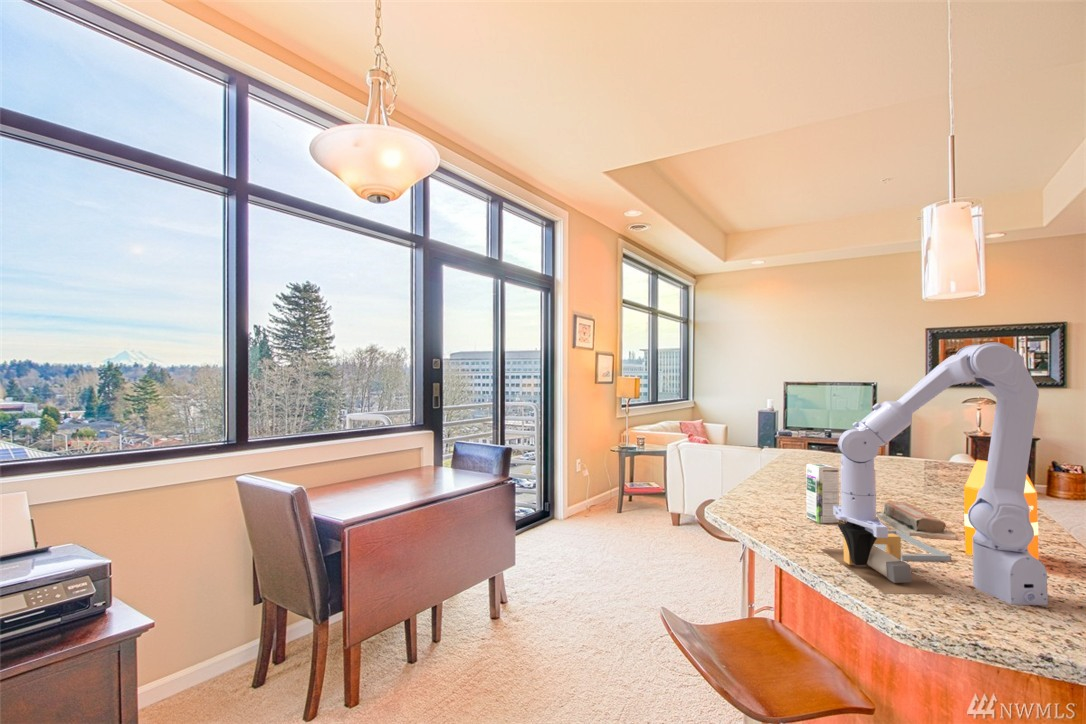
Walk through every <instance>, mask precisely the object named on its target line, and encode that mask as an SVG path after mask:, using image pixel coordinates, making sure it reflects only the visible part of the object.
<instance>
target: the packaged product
mask: <svg viewBox="0 0 1086 724" xmlns="http://www.w3.org/2000/svg"><path fill="white" fill-rule="evenodd" d="M876 517H877V518H878V519H881V520H882V521H884V522H885V523H886V524H888V525H889V526H891V527H893V528H894V529H895V530H898V531H900V532H902V533H904V534H906V535H908V536H910V537H919V538H922V539H936V540H937V539H940V540H955V541H956V540H957V535H955V534H953V533H951V532H949V531H947V530H945V529H946V527H947V524H946V523H945V522H944V521H943V520H941V519H939V518H938V517H935V516H933V515H932V514H931V513H928V512H926V511H925V510H922V509H921V508H919V507H916V506H915V505H913V504H911V503H908V502H895V501H893V502H892V501H891V502H889V501H887V502H885V503H884V508H883V512H880V511H879V512H876Z"/></svg>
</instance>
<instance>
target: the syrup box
mask: <svg viewBox="0 0 1086 724" xmlns="http://www.w3.org/2000/svg"><path fill="white" fill-rule="evenodd" d="M805 467H806V470H805V474H806V475H805V476H806V478H805V479H806V480H805V481H806V485H805V487H806V494H805V495H806V496H805V497H806V504H805V506H806V516H805V517H806V518H807V519H810V520H812V521H813V522H815V523H818V524H836V523H837V524H838V523H839V524H840V520H839V519H837V518H835V515H833V506H840V498H839V497H840V496H839V494H840V493H839V492H840V491H839V490H840V484H839V483H840V482H839V481H840V480H839V478H840V477H839V475H840V474H839V473H840V472H839V471H840V470H839V469H840V468H839V467H836V466H832V465H829V464H825V463H816V462H815V463H807V464H806V466H805Z"/></svg>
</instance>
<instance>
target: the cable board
mask: <svg viewBox="0 0 1086 724" xmlns="http://www.w3.org/2000/svg"><path fill="white" fill-rule="evenodd" d="M819 550H820V551H822V552H823V553H825V554H826V555H828V556H829V557H830V558H832V559H833V560H834V561H836V562H838V563H839V564H840V565H842V566H843V567H845V568H846V569H848V570H849V571H850V572H852V573H853V574H855V575H856V576H858V577H859V578H861V579H862V580H864V581H865V582H866V583H868V584H869V585H871V586H872V587H874V588H875V589H877V591H880V592H881V593H882V594H883V595H947V596H949V595H951V594H950V593H948V592H947V591H945V590H944V589H942V588H941V587H938V586H937V585H935V584H934V583H931V582H929V581H928V580H926V579H924V578H923V577H921V576H919V575H917V574H916V573H914V572H912V571H911V579H912V582H903V583H894V582H892V581H891V580H889V579H888V578H887V577H885V576H884V575H882V574H881V573H879V572H878V571H876V570H874V569H873V568H871V567H870V566H868V565H849V564H848V563H846V562H845V561H844V548H820V549H819Z"/></svg>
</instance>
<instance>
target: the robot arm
mask: <svg viewBox="0 0 1086 724" xmlns="http://www.w3.org/2000/svg"><path fill="white" fill-rule="evenodd" d="M972 382H975V383H978V384H980V385H981V386H982V387H983V388H985V390H987V391H988V392H989V393H990V394H991V395H992V396H994V398H995V399H996V402H995V409H994V414H993V415H994V416H993V423H992V428H991V429H992V430H991V435H990V442H989V450H988V456H987V461H988V462H987V469H986V475H985V482H984V485H983V486H982V488H981V489H980V490H979V491H978V493H977V498H976V501H975V502H974V504H973V505H972V506H971V507H970V508H969V510H968V520H969V522H970V524H971V525H972V526H973V527H974V528H975V529H976V532H975V534H974V535H973V537H972V539H973V556H972V568H973V569H972V571H973V575H972V577H973V587H974V588H975V589H976V590H978V591H980V592H981V593H985V594H987V595H990V596H993V597H995V598H997V599H998V600H1001V601H1003V602H1005V603H1007V604H1008V605H1016V606H1017V605H1019V606H1021V605H1022V606H1023V605H1024V606H1026V605H1027V606H1048V605H1049V602H1048V599H1049V598H1048V594H1049V593H1048V571H1047V569H1046V567H1045V565H1044V563H1043V562H1042V561H1040V560H1038V559H1036V558H1034V557H1033V556H1032V555H1031V554H1030V552H1029V551H1028V545H1029V544H1030V543H1031V542H1032V540H1033V538H1034V530H1033V527H1032V525H1031V522H1030V519H1029V513H1030V508H1029V506H1028V503H1027V501H1026V498H1025V496H1024V489H1025V482H1026V476H1027V475H1028V470H1029V469H1028V468H1029V461H1030V455H1031V450H1032V449H1031V448H1032V442H1033V437H1034V436H1033V435H1034V429H1035V421H1036V415H1037V410H1038V403H1039V396H1040V394H1039V393H1040V392H1039V388H1038V387H1037V385H1036V383H1035V380H1034V379H1033V377H1032V376H1031V374H1030V372H1029V370H1028V369H1027V367H1026V365H1025V357H1024V356H1023V355H1021V354H1020V353H1018V352H1017V351H1016V350H1015V349H1013V347H1012V348H1011V347H1010V346H1009V345H1007V344H1005V343H1003V342H1002V343H1001V342H994V341H993V342H986V343H981V344H970V345H966V346H963V347H962V348H960V349H959V350H958V351H957V352H956V353H955V354H952V355H950V356H949V357H946V359H944V360H943V361H942V362H940V363H939V364H938V365H937V366H935V367H934V368H933V369H931V370H930V371H929V372H928V373H927V374H926V375H925V376H924V377H923V378H921V380H919V381H918V382H917V383H916V384H915V385H913V386H912V387H911V388H910V389H909V390H908V391H907V392H905V394H903V395H902V396H901V397H900V398H899V399H898V400H896V401H895V400H894V401H893V400H885V401H883V402H882V403H881V404H880V403H879V402H877V403H875V404H874V405H873V406H872V407H871V408H872V409H873V410H872V411H871V412H870V413H869V414H867V415H866V416H865V417H864V418H862V419H861V420H860V421H859V422H858V421H855V422H853V423H852V426H853V428H852V429H847V430H845V431H843V433H841V435H840V436H839V439H838V441H837V447H838V449H839V451H840V452H841V457H840V464H841V465H840V468H839V469H840V470H839V471H840V505H839V506H833V515H835V518H837V519H839V521H846V522H845V523H839V524H838V529H839V530H840V532H841V534H842V537H843V536H844V538H845V540H846V543H847V546H848V550H849V553H850V557H851V560H852V563H854V564H855V565H867V562H868V558H869V554H870V551H871V548H872V546H873V544H874V542H875V541H876V539H877V538H888V530H889V528H888V526H886V525H884V523H882V522H881V520H880V518H879V517H877V492H876V491H877V490H876V489H877V485H876V469H875V459H876V457H878V453H879V452H880V447H884V446H885V445H886V444H888V443H889V442H890V441H892V440H893V439H894V438H895V437H897V436H898V435H899V434H900V433H902V432H903V431H904V430H905V429H907V428H908V427H909V426H911V425H912V421H913V420H912V419H913V414H914V413H915V412H917V410H919V409H920V408H922V407H923V406H925V405H926V404H927V403H929V402H930V401H932V400H933V399H935V398H936V397H937V396H938V395H940V394H941V393H943V391H945V390H947V389H948V388H949V387H951V386H954V385H959V384H963V383H972Z"/></svg>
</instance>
